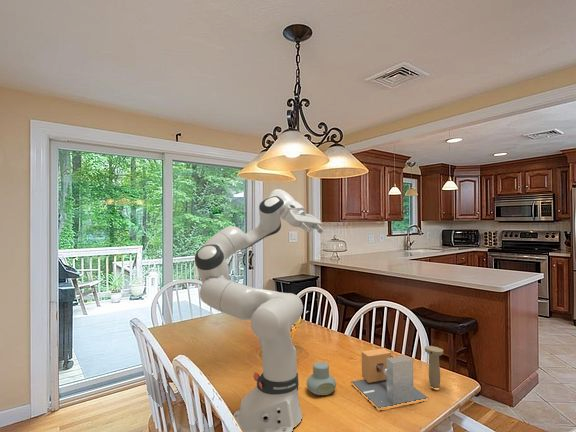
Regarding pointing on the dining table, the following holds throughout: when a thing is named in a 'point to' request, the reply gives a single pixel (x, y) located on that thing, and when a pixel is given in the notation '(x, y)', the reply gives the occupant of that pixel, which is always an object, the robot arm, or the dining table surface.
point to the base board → (381, 392)
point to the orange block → (374, 364)
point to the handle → (434, 365)
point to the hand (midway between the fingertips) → (315, 231)
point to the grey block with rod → (398, 379)
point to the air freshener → (321, 380)
